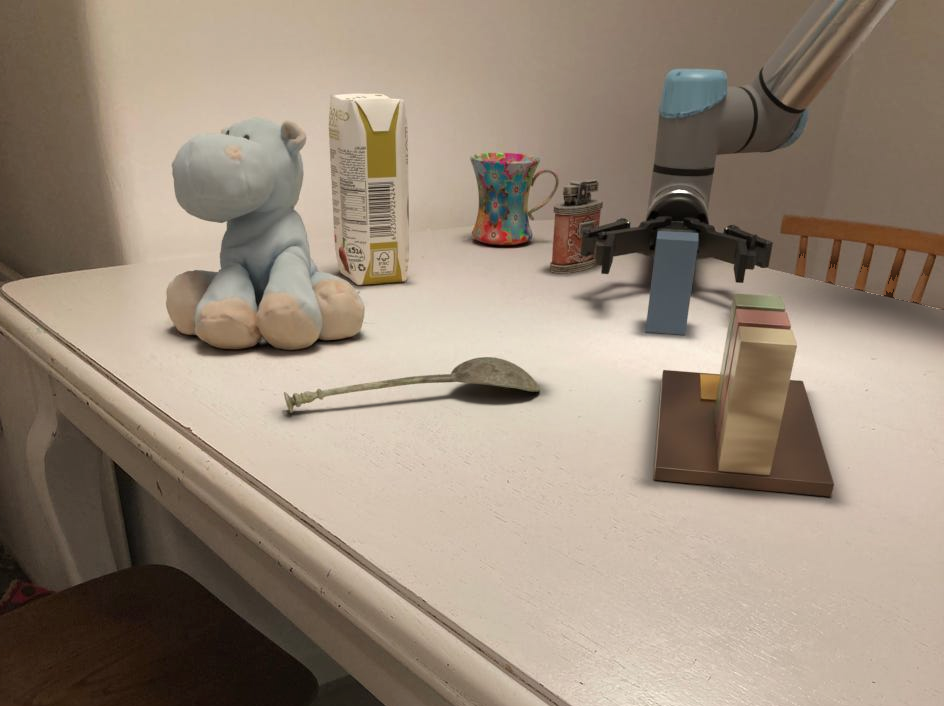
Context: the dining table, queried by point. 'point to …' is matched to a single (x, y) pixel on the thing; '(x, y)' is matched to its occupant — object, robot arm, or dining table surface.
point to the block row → (744, 412)
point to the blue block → (671, 282)
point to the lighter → (574, 226)
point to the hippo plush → (255, 245)
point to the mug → (505, 196)
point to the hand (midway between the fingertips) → (673, 264)
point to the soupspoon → (439, 380)
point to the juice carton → (370, 187)
